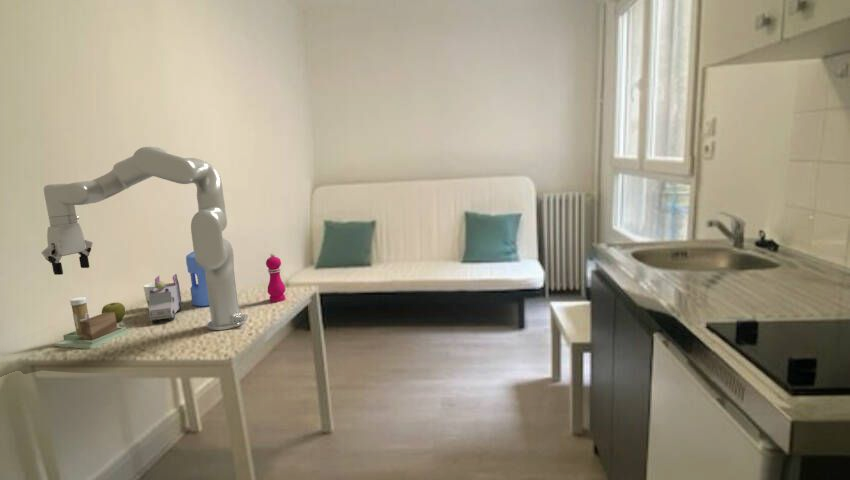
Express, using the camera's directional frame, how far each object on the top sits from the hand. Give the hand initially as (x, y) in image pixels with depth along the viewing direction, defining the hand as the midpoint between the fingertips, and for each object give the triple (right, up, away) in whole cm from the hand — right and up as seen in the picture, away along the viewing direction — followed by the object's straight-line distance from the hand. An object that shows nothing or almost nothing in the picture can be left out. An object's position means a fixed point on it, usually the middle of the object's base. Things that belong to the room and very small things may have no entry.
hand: (72, 271), depth 170 cm
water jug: (+29, -16, +43) cm, 55 cm away
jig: (+5, -24, +3) cm, 25 cm away
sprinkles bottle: (+2, -23, +4) cm, 23 cm away
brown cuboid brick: (+8, -23, +2) cm, 24 cm away
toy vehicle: (+19, -20, +26) cm, 38 cm away
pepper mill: (+58, -15, +40) cm, 72 cm away
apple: (+1, -21, +23) cm, 31 cm away
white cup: (+8, -18, +39) cm, 44 cm away
